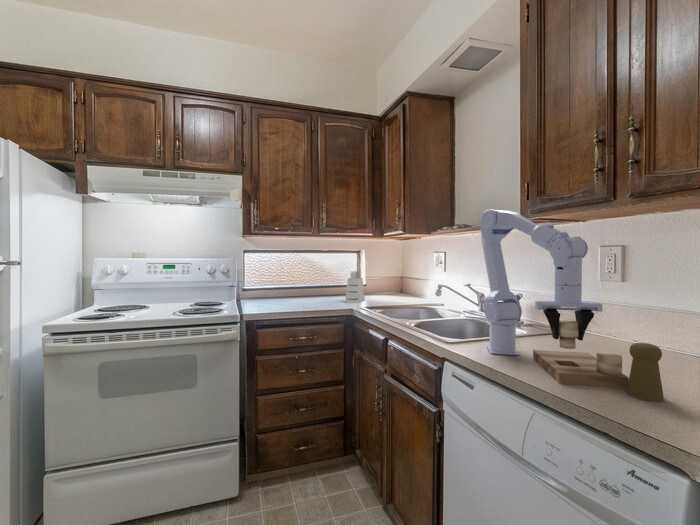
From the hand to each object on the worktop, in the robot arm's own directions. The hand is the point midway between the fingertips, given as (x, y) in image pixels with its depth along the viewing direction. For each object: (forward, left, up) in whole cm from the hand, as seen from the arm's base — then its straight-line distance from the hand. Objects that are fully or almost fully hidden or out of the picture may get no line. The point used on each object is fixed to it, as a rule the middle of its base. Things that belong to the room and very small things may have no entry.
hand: (567, 339), depth 87 cm
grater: (-122, -80, -9) cm, 146 cm away
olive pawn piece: (+12, +10, -9) cm, 18 cm away
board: (-2, +2, -9) cm, 9 cm away
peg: (0, 0, -2) cm, 2 cm away
